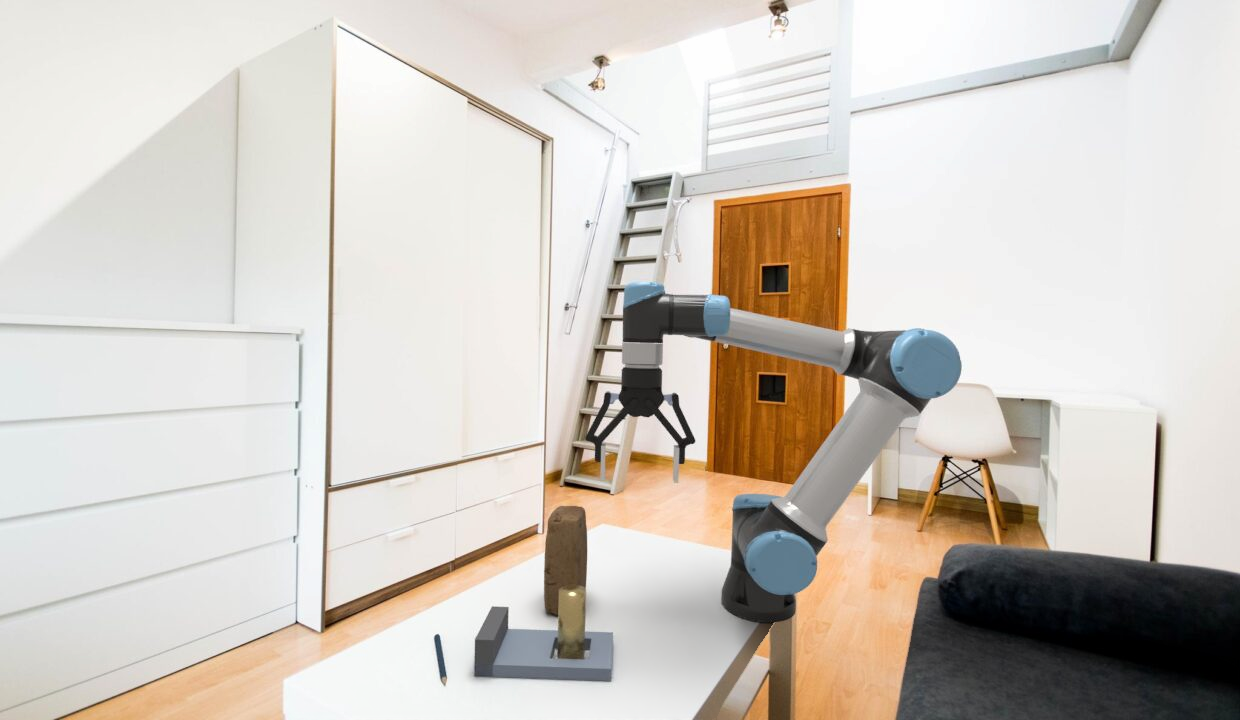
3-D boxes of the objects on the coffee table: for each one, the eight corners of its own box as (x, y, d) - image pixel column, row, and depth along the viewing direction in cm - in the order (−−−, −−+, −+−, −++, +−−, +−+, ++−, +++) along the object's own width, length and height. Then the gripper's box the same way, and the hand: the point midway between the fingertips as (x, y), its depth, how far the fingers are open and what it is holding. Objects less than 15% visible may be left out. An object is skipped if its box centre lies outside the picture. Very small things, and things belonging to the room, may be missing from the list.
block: (577, 620, 106) (579, 518, 105) (540, 616, 107) (542, 515, 107) (589, 595, 117) (592, 502, 116) (556, 591, 118) (558, 500, 117)
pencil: (439, 638, 99) (448, 687, 85) (434, 639, 99) (441, 689, 85) (439, 633, 99) (448, 682, 85) (434, 634, 98) (441, 683, 85)
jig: (612, 643, 98) (613, 610, 98) (611, 681, 87) (612, 644, 87) (491, 639, 99) (491, 606, 98) (474, 676, 88) (474, 639, 87)
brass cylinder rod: (585, 652, 95) (587, 584, 95) (583, 668, 91) (584, 597, 90) (559, 651, 95) (560, 584, 95) (555, 667, 91) (557, 596, 90)
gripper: (706, 367, 105) (703, 476, 105) (576, 364, 105) (574, 473, 106) (712, 369, 97) (709, 487, 98) (572, 365, 97) (570, 483, 98)
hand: (639, 480), depth 102 cm, fingers open, 13 cm apart
